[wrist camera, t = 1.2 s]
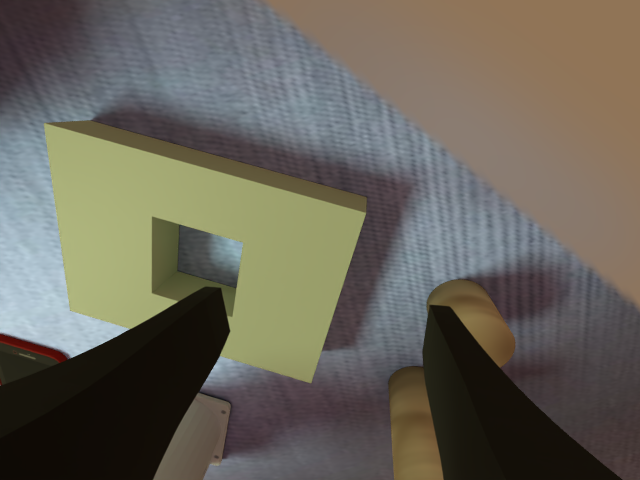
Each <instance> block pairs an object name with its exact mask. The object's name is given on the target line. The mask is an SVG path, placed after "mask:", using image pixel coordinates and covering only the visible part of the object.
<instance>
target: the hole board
mask: <svg viewBox="0 0 640 480" xmlns="http://www.w3.org/2000/svg"><path fill="white" fill-rule="evenodd" d="M44 127H45V134H46V142H47V149H48V156H49V163H50V170H51V177H52V184H53V192H54V199H55V206H56V213H57V220H58V227H59V234H60V242H61V249H62V256H63V263H64V270H65V277H66V284H67V291H68V299H69V306H70V311H73V312H76V313H80V314H83V315H86V316H90V317H93V318H96V319H100V320H103V321H106V322H110V323H113V324H116V325H119V326H123V327H126V328H129V329H132V328H133V327H135V326H137V325H139V324H141V323H142V322H144V321H146V320H148V319H150V318H151V317H153V316H155V315H156V314H158V313H160V312H162V311H163V310H165V309H167V308H168V307H170V306H172V305H173V304H175V303H177V302H178V301H180V300H182V299H184V298H185V297H187V296H189V295H190V294H192V293H194V292H196V291H198V290H199V289H201V288H203V287H205V286H208V287H220V288H221V290H222V294H223V299H224V304H225V308H226V313H227V318H228V322H229V327H230V333H229V336H228V338H227V341H226V343H225V346H224V348H223V350H222V352H221V354H220V356H222V357H225V358H229V359H232V360H235V361H239V362H242V363H245V364H249V365H252V366H255V367H258V368H262V369H265V370H268V371H272V372H275V373H278V374H282V375H285V376H288V377H292V378H295V379H298V380H301V381H305V382H308V383H311V382H312V379H313V376H314V373H315V370H316V366H317V363H318V360H319V357H320V354H321V351H322V348H323V345H324V342H325V339H326V336H327V333H328V329H329V326H330V323H331V320H332V317H333V314H334V311H335V308H336V305H337V302H338V299H339V296H340V292H341V289H342V286H343V283H344V280H345V277H346V274H347V271H348V268H349V265H350V262H351V259H352V255H353V252H354V249H355V246H356V243H357V240H358V237H359V234H360V231H361V228H362V225H363V222H364V218H365V215H366V207H367V197H364V196H361V195H357V194H353V193H350V192H346V191H343V190H339V189H335V188H332V187H328V186H325V185H321V184H317V183H314V182H310V181H307V180H303V179H299V178H296V177H292V176H289V175H285V174H281V173H278V172H274V171H270V170H267V169H263V168H260V167H256V166H252V165H249V164H245V163H242V162H238V161H234V160H231V159H227V158H224V157H220V156H216V155H213V154H209V153H206V152H202V151H198V150H195V149H191V148H188V147H184V146H180V145H177V144H173V143H169V142H166V141H162V140H159V139H155V138H151V137H148V136H144V135H141V134H137V133H133V132H130V131H126V130H123V129H119V128H115V127H112V126H108V125H105V124H101V123H97V122H94V121H90V120H87V121H70V122H53V123H44ZM179 224H180V225H184V226H187V227H191V228H194V229H198V230H201V231H205V232H208V233H212V234H215V235H219V236H222V237H226V238H229V239H233V240H236V241H239V242H243V248H242V255H241V262H240V268H239V275H238V282H237V288H233V287H230V286H226V285H223V284H220V283H216V282H213V281H209V280H206V279H202V278H199V277H196V276H192V275H189V274H185V273H182V272H179V271H177V267H178V245H179Z"/></svg>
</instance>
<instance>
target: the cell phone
mask: <svg viewBox="0 0 640 480" xmlns="http://www.w3.org/2000/svg"><path fill="white" fill-rule="evenodd" d="M66 360H67V358H66V356H65V355H64V354H62V353H61V352H58V351H56V350H53V349H49V348H46V347H43V346H39V345H36V344H32V343H29V342H26V341H22V340H19V339H15V338H12V337H9V336H5V335H1V334H0V385H4V384H7V383H9V382H12V381H15V380H18V379H20V378H23V377H26V376H29V375H31V374H34V373H36V372H39V371H41V370H44V369H46V368H48V367H51V366H53V365H56V364H58V363H61V362H63V361H66Z"/></svg>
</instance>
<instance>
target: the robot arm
mask: <svg viewBox="0 0 640 480" xmlns="http://www.w3.org/2000/svg"><path fill="white" fill-rule="evenodd" d="M229 333H230V327H229V322H228V318H227V313H226V308H225V304H224V299H223V294H222V290H221V288H220V287H208V286H205V287H203V288H201V289H199V290H198V291H196V292H194V293H192V294H190V295H189V296H187V297H185V298H184V299H182V300H180V301H178V302H177V303H175V304H173V305H172V306H170V307H168V308H167V309H165V310H163V311H162V312H160V313H158V314H156V315H155V316H153V317H151V318H150V319H148V320H146V321H144V322H142V323H141V324H139V325H137V326H135V327H133V328H132V329H130V330H128V331H126V332H124V333H122V334H121V335H119V336H117V337H115V338H113V339H111V340H109V341H107V342H105V343H103V344H101V345H99V346H97V347H95V348H93V349H90V350H88V351H86V352H84V353H82V354H80V355H77V356H75V357H73V358H71V359H68V360H66V361H63V362H61V363H58V364H56V365H53V366H51V367H48V368H46V369H44V370H41V371H39V372H36V373H34V374H31V375H29V376H26V377H23V378H20V379H18V380H15V381H12V382H9V383H7V384H4V385H1V386H0V480H203V478H204V476H205V473H206V471H207V469H208V467H209V464H213V465H220V463H221V461H222V456H223V450H224V444H225V438H226V433H227V427H228V421H229V415H230V409H231V405H230V403H228V402H226V401H223V400H220V399H217V398H214V397H210V396H207V395H204V394H201V393H198V392H199V390H200V389H201V387H202V385H203V384H204V382H205V381H206V379H207V377H208V375H209V374H210V372H211V370H212V369H213V367H214V365H215V364H216V362H217V360H218V358H219V357H220V354H221V352H222V350H223V348H224V346H225V343H226V341H227V338H228V336H229ZM423 365H424V377H425V385H426V390H427V395H428V400H429V405H430V410H431V415H432V420H433V425H434V430H435V435H436V440H437V445H438V450H439V454H440V460H441V466H442V472H443V479H444V480H622V479H621V478H620V477H619V476H617V475H616V474H615V473H613V472H612V471H611V470H610V469H608V468H607V467H606V466H605V465H603V464H602V463H601V462H600V461H599V460H597V459H596V458H595V457H594V456H593V455H591V454H590V453H589V452H588V451H587V450H585V449H584V448H583V447H582V446H581V445H580V444H578V443H577V442H576V441H575V440H574V439H572V438H571V437H570V436H569V435H568V434H567V433H565V432H564V431H563V430H562V429H561V428H560V427H559V426H558V425H556V424H555V423H554V422H553V421H552V420H551V419H550V418H549V417H548V416H547V415H546V414H545V413H544V412H542V411H541V410H540V409H539V408H538V407H537V406H536V405H535V404H534V403H533V402H532V401H531V400H530V399H529V398H528V397H527V396H526V395H525V394H524V393H523V392H522V391H521V390H520V389H519V388H518V387H517V386H516V385H515V384H514V383H513V382H512V381H511V380H510V378H509V377H508V376H507V375H506V374H505V373H504V372H503V371H502V370H501V369H500V368H499V366H498V365H497V364H496V363H495V362H494V361H493V359H492V358H491V357H490V356H489V355H488V354H487V352H486V351H485V350H484V349H483V348H482V347H481V345H480V344H479V343H478V342H477V340H476V339H475V338H474V337H473V335H472V334H471V333H470V332H469V330H468V329H467V328H466V326H465V325H464V324H463V322H462V321H461V320H460V318H459V317H458V316H457V314H456V313H455V312H454V310H453V309H452V308H451V307H450V306H442V305H429V311H428V318H427V325H426V332H425V338H424V345H423Z"/></svg>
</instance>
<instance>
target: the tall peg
mask: <svg viewBox="0 0 640 480" xmlns="http://www.w3.org/2000/svg"><path fill="white" fill-rule="evenodd" d="M388 386H389V402H390V418H391V434H392V450H393V466H394V480H444V479H443V472H442V466H441V460H440V454H439V450H438V445H437V440H436V435H435V430H434V425H433V420H432V415H431V410H430V405H429V400H428V395H427V390H426V385H425V377H424V368H423V367H417V366H410V367H405V368H402V369H399V370H397V371H396V372H394V373H393V374H392V376H391V377H390V379H389V383H388Z"/></svg>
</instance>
